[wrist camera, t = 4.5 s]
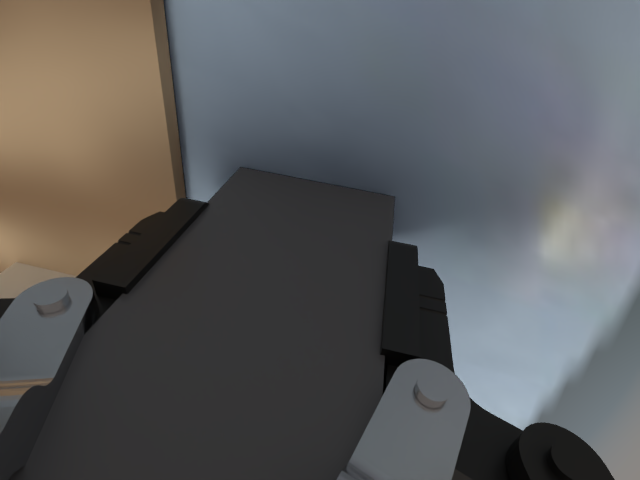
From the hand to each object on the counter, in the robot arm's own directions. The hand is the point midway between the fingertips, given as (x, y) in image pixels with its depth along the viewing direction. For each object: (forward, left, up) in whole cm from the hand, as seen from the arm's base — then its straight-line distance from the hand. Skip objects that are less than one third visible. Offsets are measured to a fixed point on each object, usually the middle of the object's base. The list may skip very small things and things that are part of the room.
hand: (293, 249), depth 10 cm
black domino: (0, 0, -2) cm, 2 cm away
